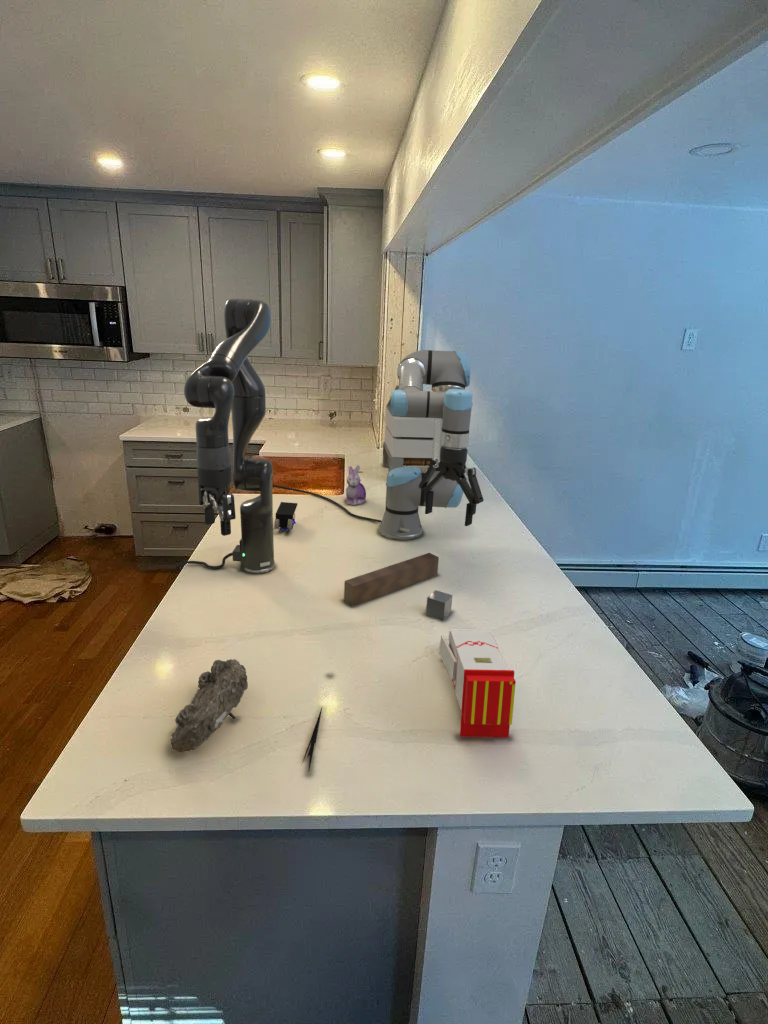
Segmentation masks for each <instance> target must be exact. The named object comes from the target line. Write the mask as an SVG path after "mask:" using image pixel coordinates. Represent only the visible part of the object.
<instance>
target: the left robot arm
mask: <svg viewBox="0 0 768 1024" xmlns="http://www.w3.org/2000/svg"><path fill="white" fill-rule="evenodd" d="M223 319H224V320H223V321H224V330H225V337H226V338H225V339H224V340H223V341H221V342H220V343H219V344H218V345H217V346H216V347H215V348H214V349H213V351H212V353H211V355H210V356H209V358H208V360H207V361H206V362H205V363H203V364H201V366H199V367H198V368H196V369H195V370H194V371H193V372H192V373H191V374H190V375H189V376H188V377H187V379H186V380H185V383H184V387H183V396H184V398H185V400H186V402H187V403H188V404H189V405H190V406H191V407H195V408H202V409H204V408H205V409H215V410H214V413H213V416H207V417H203V418H199V419H197V421H196V423H195V440H196V441H195V442H196V453H195V456H196V458H195V459H196V467H197V468H196V470H197V483H198V484H197V485H198V504H199V506H202V509H203V511H204V523H205V524H206V525H208V526H209V525H214V524H215V523H216V517H215V513H217V514H218V517H219V522H220V523H219V525H220V535H222V536H223V537H225V536H230V535H231V533H232V525H231V524H232V523H231V521H233V520H236V518H237V516H236V504H235V503H236V502H235V495H234V494H233V493H231V494H230V493H229V494H228V490H227V487H228V486H229V485H231V484H232V481H233V486H234V488H235V489H236V490H237V491H239V492H255V493H257V492H258V493H260V494H259V495H258V496H256V497H253V498H251V499H247V500H244V501H242V502H241V504H240V506H239V513H240V514H239V515H240V535H241V536H240V537H241V538H240V539H239V544H236V546H235V547H234V549H233V550H232V552H230V553H228V554H226V555H225V556H223V558H222V561H221V564H220V565H210V564H207V562H205V561H199V560H186V561H183V562H180V563H178V564H177V565H176V566H175V567H174V569H175V570H178V569H180V568H181V567H182V566H185V565H202V566H204V567H205V568H207V569H210V570H211V569H212V570H213V569H214V570H219V569H222V568H223V567H224V566H225V565H226V560H227V559H228V558H230V557H232V562H239V563H240V571H243V572H246V573H250V574H264V573H268V572H270V571H272V570H273V569H274V568H275V544H274V543H275V542H274V509H273V507H274V500H273V498H274V494H273V489H274V487H273V485H274V467H273V463H272V462H271V460H270V459H264V458H263V459H262V458H247V449H248V447H249V444H250V442H251V440H252V437H253V436H254V434H255V433H256V431H257V430H258V428H259V426H260V425H261V423H262V422H263V420H264V418H265V416H266V413H267V403H266V402H267V401H266V388H265V384H264V383H263V380H262V379H261V377H260V376H259V374H258V372H257V371H256V369H255V368H254V367H253V365H252V363H251V362H250V359H249V356H250V354H251V353H252V352H253V351H254V350H255V349H256V348H257V347H258V345H260V343H262V341H263V340H264V339H265V338H266V337H267V335H268V333H269V331H270V328H271V325H272V313H271V309H270V307H269V305H268V303H267V302H266V301H264V300H261V299H253V298H252V299H250V298H229V299H228V300H226V302H225V306H224V312H223ZM230 417H231V425H232V459H231V450H230V442H229V441H230V440H229V423H230ZM187 563H188V564H187Z"/></svg>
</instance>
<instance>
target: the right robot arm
mask: <svg viewBox="0 0 768 1024" xmlns="http://www.w3.org/2000/svg"><path fill="white" fill-rule="evenodd" d="M396 372H397V373H396V374H397V375H396V376H397V379H398V381H399V382H398V385H399V390H395V389H393V390H392V391H391V395H390V398H391V414H392V415H393V416H401V417H422V418H434V435H433V454H432V460H431V461H430V464H429V466H427V467H426V472H422V469H421V468H420V467H419V466H406V465H405V466H403V467H399V468H395V469H393V470H391V471H390V472H389V471H388V473H387V475H386V482H385V486H386V488H385V489H386V490H385V504H384V505H385V507H384V508H385V509H384V513H383V515H382V519H376V518H371V517H367V516H362V515H358V514H354V513H352V512H350V510H349V509H347V508H346V507H345V506H343V505H342V504H340V503H338V502H336V501H335V500H333V499H331V498H329V497H327V496H324V495H323V494H322V495H321V494H318V493H315V492H312V491H307V490H303V489H298V488H292V487H287V486H283V485H278V484H273V488H278V489H282V490H287V491H292V492H298V493H303V494H307V495H311V496H314V497H318V498H321V499H324V500H326V501H328V502H331V503H333V504H334V505H336V506H337V507H338V508H341V510H343V511H345V513H346V514H348V515H350V516H351V517H354V518H356V519H361V520H366V521H370V522H375V523H379V526H378V533H379V534H380V535H381V536H382V537H385V538H387V539H389V540H395V541H410V540H415V539H418V538H420V537H421V536H422V535H423V525H422V524H421V518H420V515H419V507H424V514H425V515H429V514H432V513H433V508H444V509H448V508H449V509H450V508H452V509H453V508H454V509H455V508H457V507H459V506H460V504H461V501H462V498H463V494H464V496H465V497H466V499H467V501H468V503H466V508H465V517H464V526H465V527H469V526H471V525H472V524H473V516H474V515H475V514H476V513H477V505H478V504H481V503H483V502H484V496H483V493H482V490H481V487H480V484H479V482H478V478H477V469H476V467H474V466H473V467H467V460H468V448H467V447H469V439H470V425H471V417H472V407H473V393H472V391H471V390H467V389H466V388H468V387H469V386H470V383H471V363H470V357H469V355H468V354H467V353H466V352H463V351H457V350H434V349H433V350H431V349H421V350H416V351H413V352H411V353H409V354H407V355H406V356H405V357H404V358H402V359H401V361H400V362H399V364H398V366H397V369H396ZM424 385H426V386H427V385H429V386H431V390H430V391H429V390H424ZM465 474H466V475H465ZM466 476H467V477H466Z"/></svg>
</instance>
